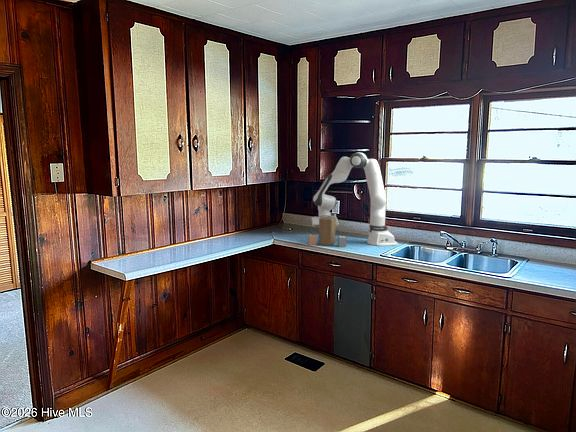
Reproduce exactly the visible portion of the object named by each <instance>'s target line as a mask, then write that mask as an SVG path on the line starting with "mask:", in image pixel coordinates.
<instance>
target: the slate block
mask: <svg viewBox="0 0 576 432" xmlns="http://www.w3.org/2000/svg"><path fill="white" fill-rule="evenodd" d="M337 237H338V238H337V246H338V247H339V248H346V247H347V237H346V236H344V235H339V236H337Z"/></svg>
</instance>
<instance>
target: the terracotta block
mask: <svg viewBox="0 0 576 432" xmlns="http://www.w3.org/2000/svg"><path fill="white" fill-rule="evenodd" d="M308 245H309V246H317V235H316V234H315V233H314V234H311V233H310V234H308Z"/></svg>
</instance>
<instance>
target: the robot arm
mask: <svg viewBox="0 0 576 432" xmlns="http://www.w3.org/2000/svg"><path fill="white" fill-rule="evenodd" d="M353 168H355V169H363V170H364V173H365V179H366V183H367V187H368V193H369V197H370V212H369V213H370V215H369V225H368V238H367V241H366V244H368V245H373V246H377V247H386V246H387V247H388V246H398V242H397V241H396V240H395V236H394V235H393V233H391V232H390V231H389V230H390V226H389V225H386V204H387V202H388V201H387V196H386V191H385V187H384V186H385V185H384V182H383V177H382V173H381V172H382V171H381V167H380V165H379V162H378V160H377V159H375V158H368V156H367V155H366V154H365V153H364V152H362V151H361V152H359V151H358V152H355V153H353V154H351V155H350V157H348V156H342V157H341V158H340V159H339V160H338V162H337V163H336V165H335V168H334V170H333V171H332V172H331V173H329V174H328V175H327V176H326V177H325V179H324V180H323V182H322V184H321V186H320V187H319V189H318V190H317V192H316V193H315V194H314V195H313V197H312V201H313V204H314V205H315V206H317V210H318V216H317V215H316V216H312V217H311V219H310V220H311V222H312V223H311V226H312V227H313V228H319V219H320V218H322V217H335V218H336V224H335V228H338V227H339V225H340V223H339V220H338V217H337V214H336V213H334V212H330V211H332V210H333V209H334V208H336V206H337V205H338V203H337V202H338V201H337V199H336V197H335V196H332V195H329V194H326V191H327V190H328V189H329V187H330V185H333V184H340V183H342V182H343V183H344V182H345V181H346V180H347V179H348V176H349V175H350V172H351V170H352V169H353Z"/></svg>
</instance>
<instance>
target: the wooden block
mask: <svg viewBox="0 0 576 432" xmlns="http://www.w3.org/2000/svg"><path fill="white" fill-rule="evenodd" d="M335 224H336V218H335V217H322V218H320V219H319V227H318V244H319V245H320V246H329V247H332V246H333V245H335V243H336V227H335Z"/></svg>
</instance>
